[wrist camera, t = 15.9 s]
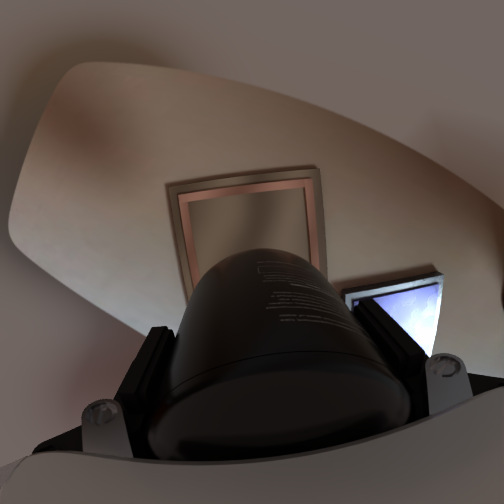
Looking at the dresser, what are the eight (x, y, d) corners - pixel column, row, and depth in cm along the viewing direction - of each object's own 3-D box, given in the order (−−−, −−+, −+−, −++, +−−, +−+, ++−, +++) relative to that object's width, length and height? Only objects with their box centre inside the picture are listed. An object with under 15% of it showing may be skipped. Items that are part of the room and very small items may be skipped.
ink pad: (437, 271, 27) (445, 275, 25) (424, 359, 30) (429, 365, 28) (341, 289, 27) (346, 295, 25) (338, 382, 30) (342, 390, 28)
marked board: (318, 168, 24) (320, 168, 23) (327, 306, 27) (328, 308, 27) (169, 187, 24) (167, 187, 23) (194, 322, 27) (193, 325, 26)
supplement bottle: (160, 301, 13) (36, 547, 1) (280, 213, 12) (527, 469, 1) (246, 391, 15) (258, 604, 3) (354, 325, 14) (485, 525, 2)
